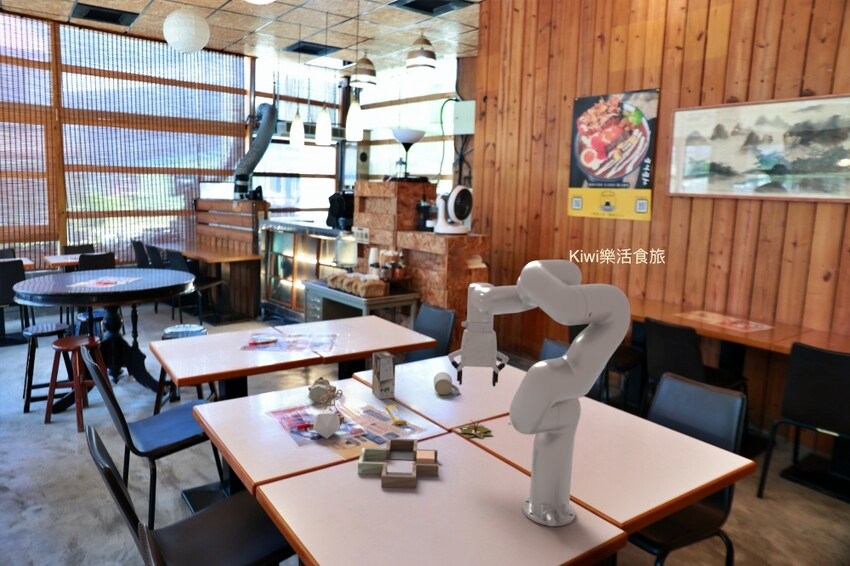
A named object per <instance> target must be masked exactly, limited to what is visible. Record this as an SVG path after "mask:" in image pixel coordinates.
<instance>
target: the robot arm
mask: <svg viewBox="0 0 850 566" xmlns="http://www.w3.org/2000/svg"><path fill="white" fill-rule="evenodd" d="M582 279H583V275H582V271H581V268H580V267H579V266H578V265H577V264H576V263H574V262H573V261H570V260H568V259H567V260H566V259H541V260H540V259H539V260H533V261H530V262H528V263H527V264H526V265H525V266H523V268H522V270H521V273H520V275H519V276H518V279H517V281H516V285H501V286H500V285H499V286H494V284H491V283H488V282H472V283H471V284H469V286H468V288H467V289H468V290H467V306H466V307H467V309H466V310H467V311H466V313H467V314H466V319H465V321H461V327H463V328H465V329H464V330H463V334H462V340H461V346H460V349H458V350H455V351H453V352H451V353H449V354H447V357H448V359H449V361H450V363H451V366H452V367H453V368H454V369H455V370H456V371H457V372H456V382H459V383H458V384H459V386H461V385H463V369H464V367H471V368H473V367H474V368H477V367H478V368H492V382H491V383H492V387H493V388H495V387H496V384H498V383H499V373H500V371H502V370H503V369H504V368H505V367H506V365H507V363H508V362H509V360H510V359H509V357H508V356H507V355H505V354H504V353H502V352H501V351H498V350H497V349H498V347H497V346H498V345H497V334H496V331H495V330H494V315H504V314H514V313H522V312H525V311H529V310H532V309H536V308H538V307H539V308H540V310H542V311H543V312H544V313H545V314H547V315H548V316H549V318H551V319H552V320H553V321H555V322H557V323H559V324H561V325H563V326H577V325H588V326H587V327H585V328H584V329H583V330H581V332H579V334H578V335H577V336H576V337H575V338H574V339H573V340H572V343H571V345H570V346H569V348H568V350H567V351H566V352H565V353H564V354H563V355H562V356H560V357H556V358H550V359H545V360H541V361H537V362H536V363H534V364H533V365H531V366H530V367H529V369H528V370H527V372H526V373H525V375H524V376H523V379H522V381H521V383H520V384H519V386H518V388H517V390H516V392H515V394H514V395H513V398H512V400H511V402H510V406H509V421H510V423H511V426H513V428H514V430H515V431H517V432H518V433H520V434H522V435H525V436H526V435H528V436H530V435H532V436H533V435H534V439H533V444H532V455H531V456H532V457H531V469H530V470H531V473H530V485H529V486H530V488H529V497H528V498H526V499H525V500H524V501H523V504H522V512H523V514H524V515H525V516H526V517H527V518H528V519H529V520H531V521H533V522H535V523H537V524H540V525H543V526H548V527H563V526H566V525H569V524H571V523H572V522H573V521H574V520H575V517H576V510H575V508H574V506H573V505H572V504H570V497H571V486H572V485H571V484H572V472H573V471H572V470H573V458H574V449H575V448H574V447H575V438H576V432H577V429H578V426H579V422H580V418H581V411H582V406H581V401H580V400H579V398H582V397H584V396H586V395H587V394H588V393H589V392H590V390H591V389H592V388H593V386H594V384H595V383H596V381H597V380H598V378H599V376H600V375H601V374H602V372H603V370H604V369H605V367H606V365H607V363H608V362H609V360H610V358H612V355H613V354H614V353H615V352H616V351H617V349H618V347H619V346H620V345H621V343H622V342H623V340H624V339H625V337H626V335H627V333H628V330H629V327H630V324H631V308H630V307H631V306H630V303H629V300H628V297H627V295H626V294H625V292H624V291H623V290H622V289H620V288H619V287H618V286H615V285H613V284H607V283H589V284H586V283H585V284H582ZM456 357H460V361H459V363H458V362H457V361H456V360H455V358H456ZM498 358H499V359H501V362H500V363H499V364H497V359H498Z"/></svg>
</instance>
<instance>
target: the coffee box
mask: <svg viewBox="0 0 850 566" xmlns="http://www.w3.org/2000/svg"><path fill="white" fill-rule="evenodd" d="M371 376H372V377H371V378H372V380H371V381H372V383H371V384H372V386H371V387H372V389H371V390H372V391H371V392H372V394H374V395H375V397H377V398H378V399H379V400H386V399H393V398H395V394H396V393H395V392H396V391H395V388H396V387H395V386H396V381H395V380H396V356H395V355H393V354H392V353H390V352H389V351H384V350H383V351H376V352H372V375H371Z"/></svg>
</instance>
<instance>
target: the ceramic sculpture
mask: <svg viewBox="0 0 850 566" xmlns="http://www.w3.org/2000/svg"><path fill="white" fill-rule="evenodd" d="M329 385H331V383H330V381H329V380H328V379H326V378H324V377H323V376H320V377H318V378H317V379H316V380H315V381H314V382H313V384H312V385H311V386H309V387H308V388H307V390H308V391H309V392H308V395H309V398H310V400H311V401H312V402H313V403H317V404H319V400H320V398H321V397H322V396H325V395H327V394H328V393H332V392H335V390H333V391H331V390H330V391H326V393H327V392H328V393H327V394H326V393H325V389H326V387H327V386H329ZM334 387H335V388H336V389H337V386H334ZM334 387H332V386H330V387H328V388H327V390H328V389H335V388H334ZM328 395H330V394H328ZM328 399H329V398H328V396H326V397H323V398H322V399H321V400H320V401H322V402H324V401H325V400H327V401H328ZM320 404H322V403H321V402H320Z"/></svg>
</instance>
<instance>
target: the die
mask: <svg viewBox="0 0 850 566" xmlns="http://www.w3.org/2000/svg"><path fill="white" fill-rule="evenodd" d="M324 409H325V408H324ZM324 409H323V410H324ZM323 410H322V411H321V412H320V413H318V414H317V415H316V416H314V417H313V418H312V419H313V431H315V432H316V433H317V434H318V435H320V436H322V437H323V438H325V439H326V440H327V439H329V438H330V437H331V436H332V435H334V434H335V433H336V432H338V431H339V430H341V423H340V421H341V420H339V417H338V416H337V415H336V414H337V413H336V414H335V412H332V411H333V410H332V411H331V410H329V409H327V408H326V409H325V410H324V411H323Z"/></svg>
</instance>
